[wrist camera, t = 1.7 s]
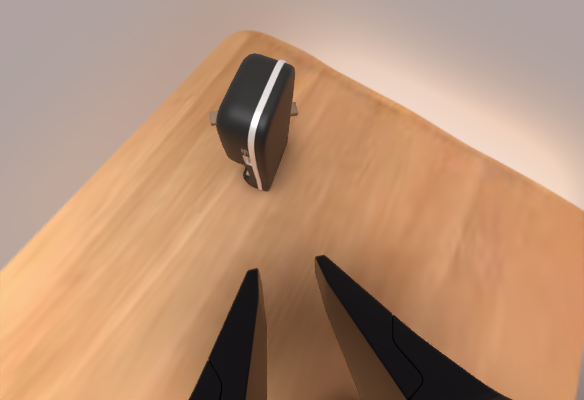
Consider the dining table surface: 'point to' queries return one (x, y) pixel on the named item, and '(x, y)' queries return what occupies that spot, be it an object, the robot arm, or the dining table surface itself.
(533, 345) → the dining table surface
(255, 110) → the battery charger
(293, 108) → the walnut strip
